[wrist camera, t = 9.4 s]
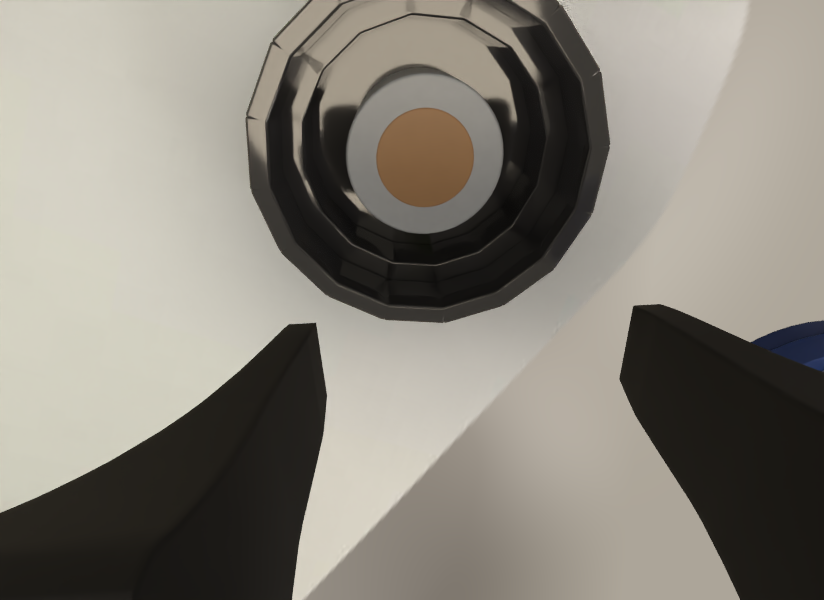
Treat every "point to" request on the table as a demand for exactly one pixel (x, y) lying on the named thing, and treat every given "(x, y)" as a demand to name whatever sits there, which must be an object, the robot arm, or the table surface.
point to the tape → (424, 151)
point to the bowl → (515, 112)
